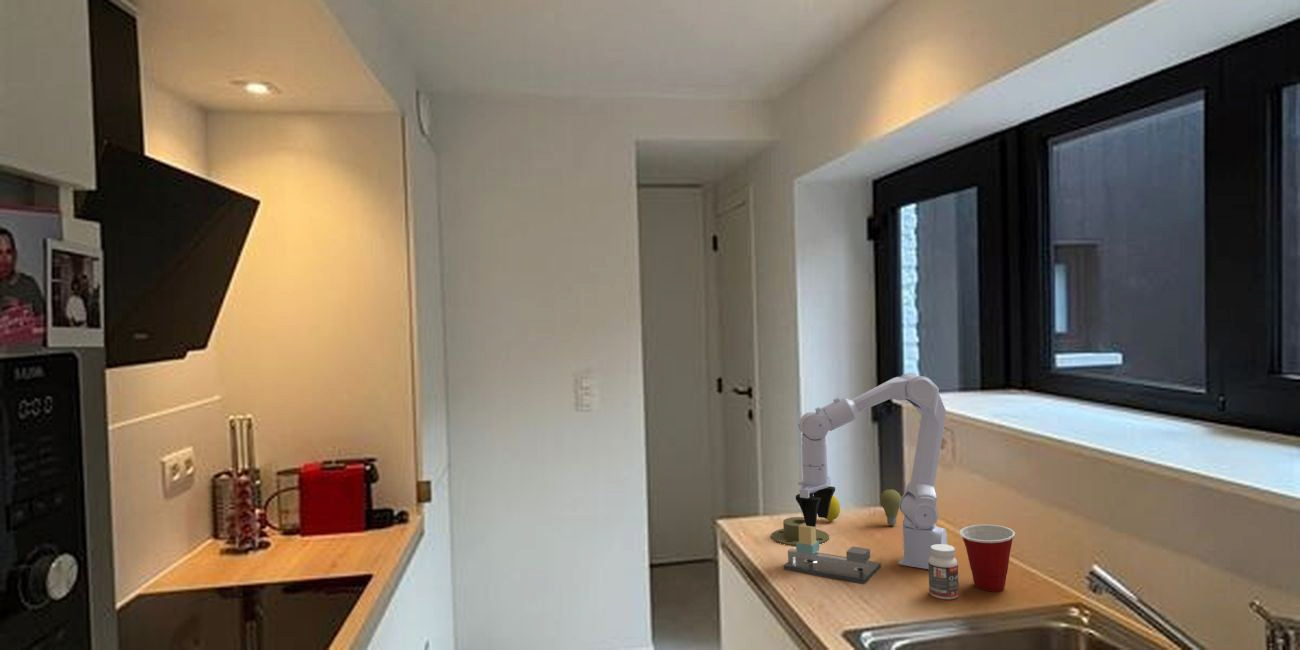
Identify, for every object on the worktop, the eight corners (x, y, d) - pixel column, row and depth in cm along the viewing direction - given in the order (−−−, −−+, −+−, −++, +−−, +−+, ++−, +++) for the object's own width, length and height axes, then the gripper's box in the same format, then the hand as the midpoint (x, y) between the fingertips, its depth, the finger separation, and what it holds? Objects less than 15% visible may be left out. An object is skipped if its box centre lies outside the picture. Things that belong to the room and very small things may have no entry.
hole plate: (881, 567, 168) (880, 562, 168) (864, 584, 158) (864, 578, 158) (803, 554, 178) (803, 549, 178) (783, 569, 169) (783, 564, 169)
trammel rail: (872, 571, 163) (872, 549, 163) (867, 576, 159) (866, 554, 159) (793, 557, 173) (792, 537, 173) (786, 562, 170) (786, 541, 170)
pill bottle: (956, 602, 146) (954, 553, 146) (926, 597, 149) (925, 549, 149) (961, 592, 151) (959, 545, 151) (932, 587, 154) (930, 541, 154)
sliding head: (819, 560, 170) (818, 524, 170) (813, 566, 166) (811, 528, 166) (803, 558, 172) (802, 522, 172) (796, 563, 169) (795, 526, 169)
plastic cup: (951, 579, 159) (949, 524, 159) (998, 575, 160) (997, 521, 159) (977, 598, 148) (975, 539, 148) (1027, 594, 149) (1026, 536, 149)
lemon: (841, 524, 201) (840, 496, 201) (820, 524, 202) (819, 496, 202) (839, 519, 207) (839, 491, 207) (820, 518, 208) (819, 491, 208)
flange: (760, 523, 191) (811, 533, 181) (788, 510, 202) (838, 519, 192) (760, 541, 191) (812, 552, 181) (789, 527, 202) (839, 536, 192)
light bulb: (882, 528, 197) (881, 492, 196) (879, 522, 202) (878, 487, 202) (904, 528, 196) (903, 492, 195) (900, 522, 201) (899, 487, 201)
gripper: (810, 457, 179) (812, 511, 179) (786, 468, 167) (788, 527, 167) (837, 459, 175) (840, 515, 175) (815, 471, 163) (818, 531, 163)
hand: (817, 521), depth 170 cm, fingers open, 7 cm apart
